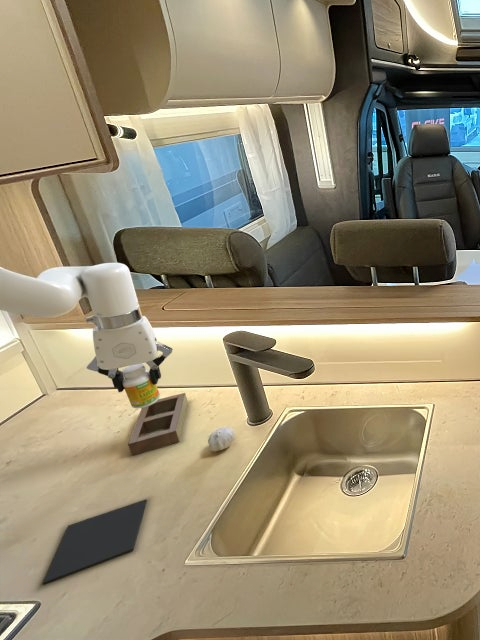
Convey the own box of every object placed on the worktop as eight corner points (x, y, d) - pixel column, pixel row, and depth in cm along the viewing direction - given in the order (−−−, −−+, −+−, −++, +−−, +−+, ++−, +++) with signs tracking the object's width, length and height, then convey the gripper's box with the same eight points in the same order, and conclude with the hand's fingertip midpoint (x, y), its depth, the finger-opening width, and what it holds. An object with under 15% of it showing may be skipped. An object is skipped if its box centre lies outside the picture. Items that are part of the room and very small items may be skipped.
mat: (43, 584, 72) (42, 582, 72) (69, 527, 82) (68, 525, 81) (133, 550, 78) (132, 548, 77) (147, 500, 87) (146, 499, 87)
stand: (132, 455, 98) (128, 444, 97) (146, 413, 111) (143, 402, 110) (179, 441, 103) (175, 430, 101) (188, 402, 116) (185, 392, 115)
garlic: (225, 456, 99) (221, 439, 97) (203, 455, 99) (198, 438, 97) (242, 437, 104) (238, 420, 103) (221, 436, 105) (216, 419, 103)
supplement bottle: (144, 410, 97) (130, 376, 94) (125, 407, 98) (111, 374, 95) (166, 395, 102) (153, 362, 99) (148, 393, 103) (135, 360, 100)
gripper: (59, 333, 85) (85, 405, 91) (164, 316, 94) (182, 383, 99) (72, 318, 91) (95, 386, 97) (170, 303, 100) (186, 367, 106)
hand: (139, 384), depth 98 cm, fingers closed on supplement bottle, 5 cm apart
